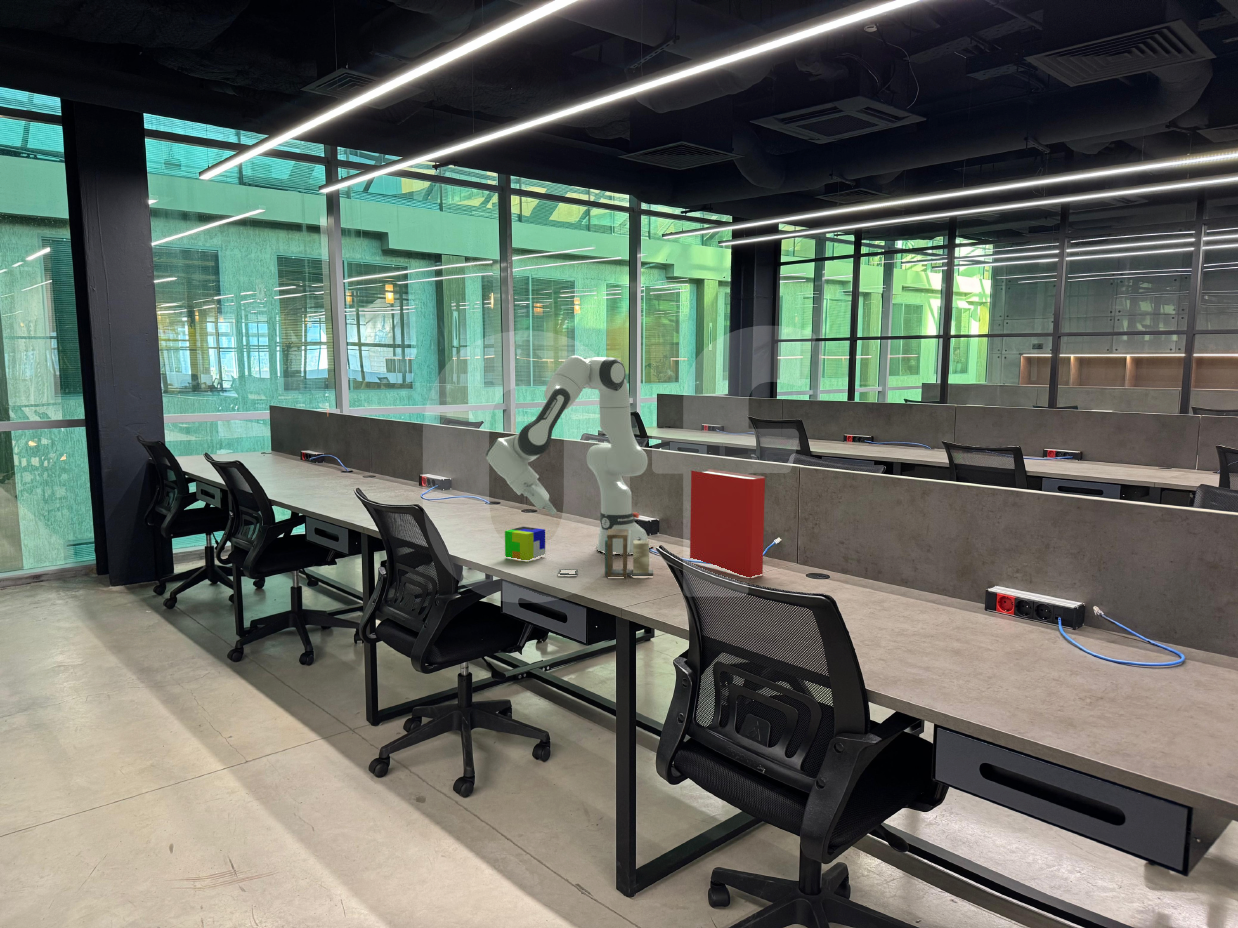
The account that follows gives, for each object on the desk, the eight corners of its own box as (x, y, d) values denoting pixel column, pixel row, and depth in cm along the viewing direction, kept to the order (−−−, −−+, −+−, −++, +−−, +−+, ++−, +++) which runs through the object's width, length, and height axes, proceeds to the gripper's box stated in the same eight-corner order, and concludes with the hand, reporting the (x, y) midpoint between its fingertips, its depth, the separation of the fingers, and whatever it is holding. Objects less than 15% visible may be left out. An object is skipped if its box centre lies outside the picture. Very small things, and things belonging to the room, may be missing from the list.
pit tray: (557, 576, 253) (557, 573, 253) (559, 572, 259) (559, 569, 259) (576, 577, 253) (576, 573, 253) (577, 572, 259) (577, 569, 259)
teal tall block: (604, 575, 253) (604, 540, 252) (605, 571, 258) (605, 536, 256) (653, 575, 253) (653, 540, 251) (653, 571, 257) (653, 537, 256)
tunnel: (606, 578, 251) (607, 534, 249) (608, 571, 260) (608, 528, 258) (627, 578, 251) (627, 534, 249) (627, 571, 260) (628, 529, 258)
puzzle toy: (545, 557, 280) (545, 529, 279) (527, 562, 272) (527, 534, 271) (523, 553, 286) (523, 526, 285) (505, 559, 277) (504, 531, 276)
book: (689, 562, 273) (691, 470, 269) (706, 559, 278) (708, 468, 274) (748, 579, 251) (750, 479, 248) (765, 575, 256) (767, 477, 252)
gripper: (531, 478, 243) (561, 510, 244) (534, 473, 263) (562, 503, 265) (516, 492, 243) (546, 524, 244) (520, 485, 263) (548, 516, 265)
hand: (555, 513), depth 255 cm, fingers closed
